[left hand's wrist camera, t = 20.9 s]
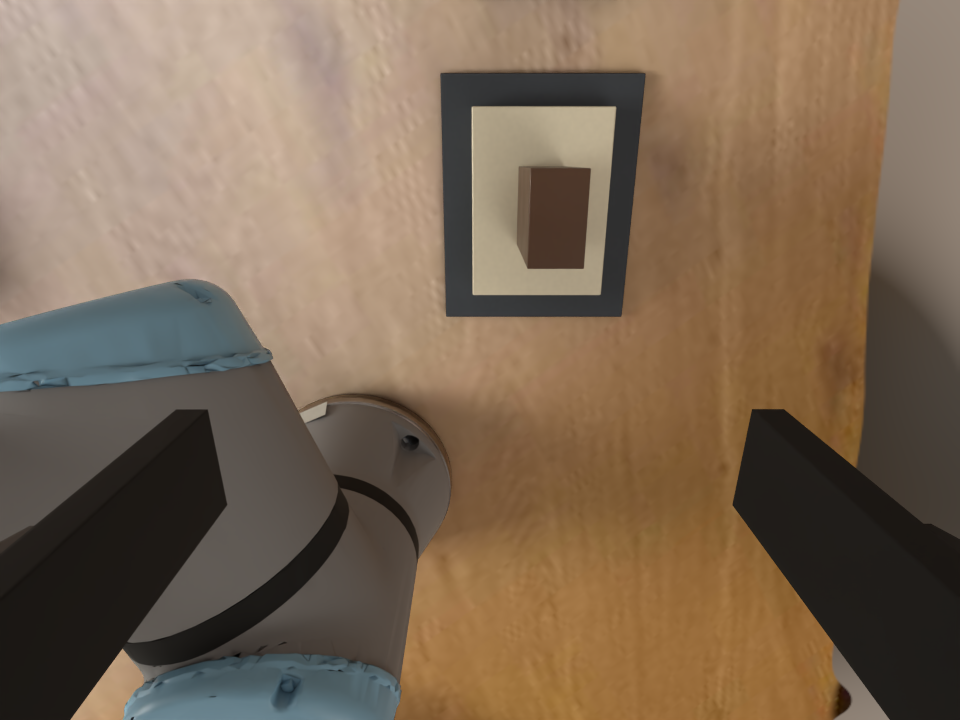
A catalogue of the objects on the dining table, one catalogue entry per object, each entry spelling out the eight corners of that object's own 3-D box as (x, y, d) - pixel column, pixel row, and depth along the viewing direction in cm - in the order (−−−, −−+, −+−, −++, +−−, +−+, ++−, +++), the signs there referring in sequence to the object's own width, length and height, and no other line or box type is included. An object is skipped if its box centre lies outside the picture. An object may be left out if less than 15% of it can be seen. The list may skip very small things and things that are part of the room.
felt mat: (620, 315, 39) (621, 316, 39) (446, 315, 39) (446, 316, 39) (643, 74, 34) (645, 73, 33) (440, 74, 34) (440, 73, 33)
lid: (596, 290, 38) (634, 332, 29) (472, 290, 38) (470, 332, 29) (611, 108, 34) (661, 88, 25) (471, 108, 34) (468, 88, 25)
